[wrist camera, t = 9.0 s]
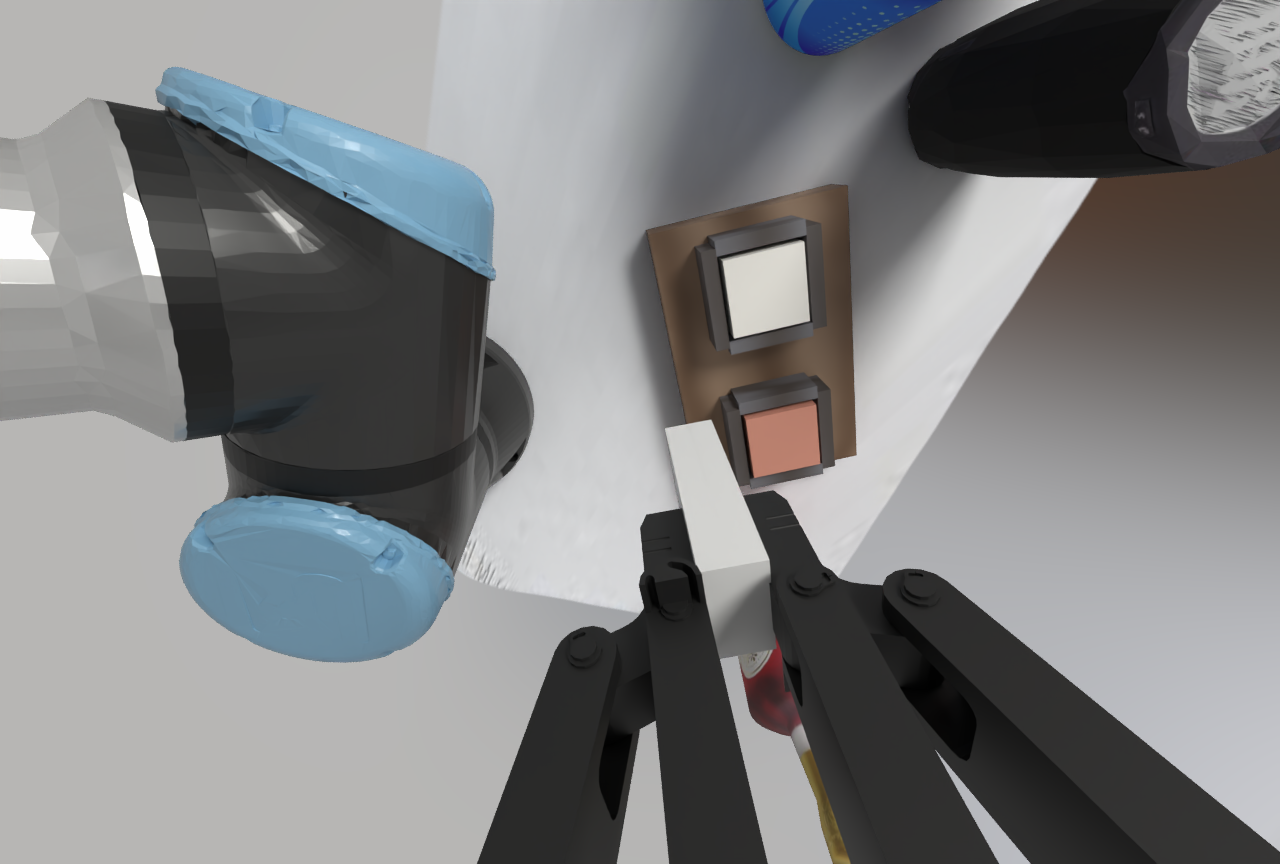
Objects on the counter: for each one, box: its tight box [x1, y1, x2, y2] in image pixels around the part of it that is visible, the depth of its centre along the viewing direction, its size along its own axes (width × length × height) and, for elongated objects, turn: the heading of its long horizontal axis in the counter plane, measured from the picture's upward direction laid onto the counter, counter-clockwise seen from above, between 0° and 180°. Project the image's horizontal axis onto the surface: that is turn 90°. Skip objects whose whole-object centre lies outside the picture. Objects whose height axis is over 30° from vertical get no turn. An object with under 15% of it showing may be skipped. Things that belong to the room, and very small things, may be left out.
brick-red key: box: [741, 399, 820, 478], centre depth 41 cm, size 5×5×2 cm
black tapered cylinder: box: [907, 0, 1280, 178], centre depth 27 cm, size 9×9×20 cm
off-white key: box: [718, 238, 810, 339], centre depth 36 cm, size 5×5×2 cm
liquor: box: [738, 639, 851, 864], centre depth 40 cm, size 7×7×28 cm
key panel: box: [646, 184, 856, 489], centre depth 41 cm, size 14×22×6 cm, turn 13°
